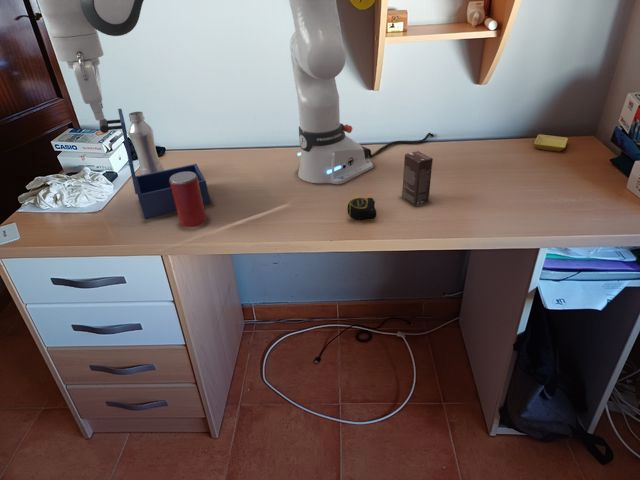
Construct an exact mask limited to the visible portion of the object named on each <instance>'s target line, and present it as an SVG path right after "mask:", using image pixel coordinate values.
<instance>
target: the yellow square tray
mask: <svg viewBox="0 0 640 480" xmlns="http://www.w3.org/2000/svg"><path fill="white" fill-rule="evenodd" d="M568 140H569V138H568V137H566V136H557V135H548V134H541V133H540V134H537V136H536V139H535V140H534V143H533V144H534V147H535V148H537V149H538V150H543V151H551V152H561V151H563V150H564V149H566V146H567V143H568Z"/></svg>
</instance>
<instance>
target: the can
mask: <svg viewBox="0 0 640 480" xmlns="http://www.w3.org/2000/svg"><path fill="white" fill-rule="evenodd" d="M169 183H170V186H171V190H172V194H173V198H174V202H175V206H176V210H177V212H176V213H177V216H178V221H179V224H180V225H181V226H182V227H185V228H195V227H198V226H201V225H203V224H204V223H205V222H206V221H207V214H206V210H205V205H203V200H202V196H201V191H200V187H199V182H198V178H197V175H196V174H195V173H194V172H189V171H186V172H179V173H176V174H174V175H172V176H171V177H170V180H169Z"/></svg>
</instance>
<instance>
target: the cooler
mask: <svg viewBox="0 0 640 480" xmlns="http://www.w3.org/2000/svg"><path fill="white" fill-rule="evenodd" d="M186 171H189V172H194V173H195V174H196V175H197V178H198V182H199V187H200V191H201V196H202V200H203V205H204V206H206V205H209V204H211V199H210V194H209V190H208V184H207V180H206V178H205V176H204V175H203V173H202V171H201V170H200V168H199V165H198V164H197V163H193V164H188V165H183V166H177V167H174V168H168V169H164V170H163V171H159V172H154V173H149V174H144V175H141V174H140V175H135V176H136V181H137V186H138V191H139V194H137V198H138V201H139V203H140V207H141V210H142V214H143V217H144V219H145V220H147V219H151V218H155V217H160V216H163V215H168V214H172V213H177V210H176V206H175V202H174V198H173V194H172V190H171V186H170V183H169V180H170V177H171V176H172V175H174V174H176V173H179V172H186Z"/></svg>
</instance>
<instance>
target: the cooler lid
mask: <svg viewBox="0 0 640 480" xmlns="http://www.w3.org/2000/svg"><path fill="white" fill-rule="evenodd" d="M117 111H118V112H117V113H118V116H119V117H118V118H119V119H108V120H107V119H106V118H105V117H104V120H99V122H98V123H99V131H100V132H101V133H103V134H107V133H108V132H109V131H113V130H115V131H116V130H122V135H123V140H124V146H125V151H126V155H127V160H128V165H129V170H130V175H131V179H132V184H133V189H134V193H135V195H138V194H139V191H138V186H137V181H136V176H137V175H136V172H135V167H134V162H133V157H132V152H131V147H130V141H129V137H128V136H129V135H128V132H127V131H128V130H127V126H126V122H125V118H124V113H123V109H122V108H117ZM111 124H112V125H111ZM113 124H118V125H113ZM119 124H120V125H119Z"/></svg>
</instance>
